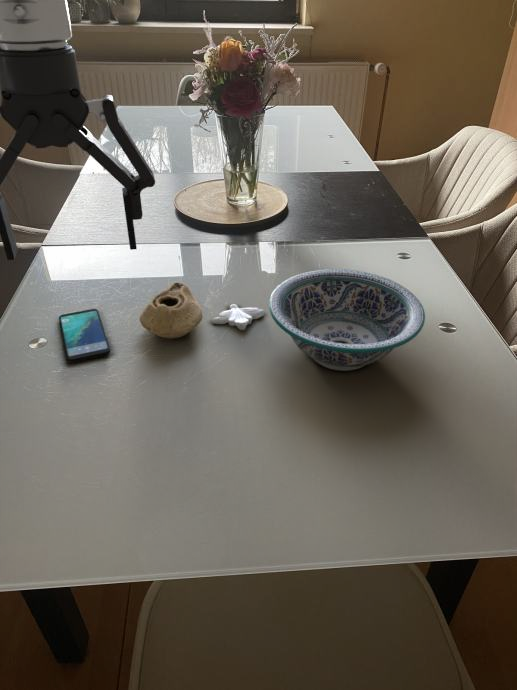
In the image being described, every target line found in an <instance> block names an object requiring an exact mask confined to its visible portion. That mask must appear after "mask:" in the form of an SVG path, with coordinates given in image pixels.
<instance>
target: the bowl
mask: <svg viewBox="0 0 517 690" xmlns="http://www.w3.org/2000/svg"><path fill="white" fill-rule="evenodd" d="M268 308H269V313H270V316H271V317H272V320H273V321H274V322H275V324H276V325H277V326H278V327H279V328H280V329H281V330H282V331H283V332H285V333H286V334H287V335H288V336H290V337H291V339H292V341H293V342H294V344H295V345H296V346H297V348H299V349H300V350H301V352H303V353H304V354H305V355H306V356H308V357H310V358H311V359H313V361H315V362H316V363H317V364H319V365H321V366H322V367H325V368H327V369H330V370H335V371H342V372H343V371H353V370H359V369H360V368H363V367H364V366H367V365H371V364H373V363H376V362H378V361H380V360H382V359H383V358H385V357H386V356H387V355H388V354H390V352H392V351H393V350H394V349H396V348H398V347H400V346H403V345H405V344H407V343H410V342H411V341H412V340H414V339H415V338H416V337H417V336H418V335H419V333H421V331H422V330H423V327H424V324H425V320H426V313H425V309H424V306H423V305H422V302H421V301H420V300H419V299H418V297H416V295H414V293H413V292H411V291H410V290H408V288H406V287H405V286H402V284H399V283H398V282H396V281H393V280H392V279H389V278H388V277H387V278H386V277H384V276H381V275H377V274H374V273H370V272H366V271H362V270H361V271H360V270H354V269H343V268H329V269H328V268H327V269H326V268H325V269H318V270H311V271H306V272H302V273H300V274H296V275H294V276H291V277H289V278H287V279H286V280H284V281H283V282H281V283H280V284H279V285H277V286H276V287H275V289H274V290H273V291H272V292H271V295H270V297H269V301H268Z"/></svg>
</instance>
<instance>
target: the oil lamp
mask: <svg viewBox="0 0 517 690" xmlns="http://www.w3.org/2000/svg"><path fill="white" fill-rule="evenodd" d="M147 303H148V304H147V305H146V306H145V307H144V308H143V309H142V311H141V312H140V315H139V323H140V325H141V326H142V328H144V329H145V330H146V331H149V332H150V333H151V334H153V335H155V336H157V337H161V338H164V339H178V338H182V337H184V336H186V335H188V334H189V332H191V331H192V330H194V329H196V328H197V327H198V326H199V325H200V323H201V322H202V320H203V310H202V308H201V306H200V304H199V302H198V301H197V299H196V298H195V296H194V295H193V293H192V291H191V289H190V288H189V287H188V286H187V285H186V284H185V283H183V282H177V281H175V282H173V283H171V284H170V285H169V287H168V288H165V289H164V290H163V291H161V292H160V293H158V294H157V295H155V296H154V297H152V298H151V299H150V300H149V302H147Z"/></svg>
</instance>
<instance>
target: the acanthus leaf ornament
mask: <svg viewBox="0 0 517 690" xmlns="http://www.w3.org/2000/svg"><path fill="white" fill-rule="evenodd" d="M264 314H265V309H262V308H260V309H259V308H258V307H239V306H238V305H237V304H236V303H232V304H230V306H229V310H224V311H221V312H220V313H218V315H217V317H216V316H215V317H214V318H213V319H212V323H213V324H217V325H225V324H228V325H229V326H232V327H234V326H235V327H236V328H237V329H238V330H241V331H245V330H246V329H247V326H248V325H251V324H252V321H253V320H258V319H260V318H261V317H263V316H264Z"/></svg>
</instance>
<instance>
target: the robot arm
mask: <svg viewBox="0 0 517 690" xmlns="http://www.w3.org/2000/svg"><path fill="white" fill-rule="evenodd" d="M72 37H73V31H72V24H71V19H70V13H69V7H68V1H67V0H0V95H1V101H0V117H1V119H3V120H4V122H5V123H7V124H8V125H9V126H10V127H11V128H12V129H13V130H14V131H15V132H14V134H13V136H12V138H11V140H10V141H9V143H8V145H7V146H6V148H5V150H4V152H3V153H2V155H1V157H0V186H1V185H2V183H4V181H5V178H6V177H7V176H8V174H9V173H10V170H11V169H12V168H13V166H14V164H15V162H16V160H17V159H18V157H19V156H20V154H21V153H22V151H23V149H24V148H25V146H26V144H28V145H30V146H32V147H35V149H46V148H49V147H56V148H68V147H69V146H71V145H72V144H76V145H77V146H78V147H79V148H80V149H81V150H82V151H84V152H86V153H87V154H88V155H89V156H90V157H92V159H94V160H95V162H96V163H98V164H99V165H100V166H101V167H102V168H103V169H104V170H105V171H106V172H107V173H109V175H110V176H112V177H113V178H114V179H116V181H117V182H118V183H119V184H120V185H122V188H121V191H122V199H123V207H124V213H125V214H124V215H125V221H126V229H127V236H128V243H129V249H130V250H137V240H136V232H135V224H134V221H135V220H136V221H138V220H142V219H143V215H144V214H143V207H142V206H143V205H142V198H141V193H142V191H143V190H145V189H147V188H153V187H154V186H155V184H156V179H155V175H154V171H153V170H152V168H151V167H150V166H149V164H148V162H147V160H146V159H145V158H144V156H143V154H142V153H141V151H140V149H139V148H138V147H137V146H138V145H136V143H135V141H134V140H133V138H132V137H131V134H129V132H128V130H127V129H126V127H125V126H124V123H123V122H122V121H121V119H120V118H119V115H118V110H117V108H116V107H117V106H116V102H115V99H114V97H113V95H111V94H105V95H103V96H102V98H96V99H89V100H87V99H86V98H85V96H84V94H83V92H82V87H81V80H80V74H79V68H78V63H77V58H76V57H77V56H76V50H75V49H74V48H73V47H72V45H70V44H68V41H70V40H71V38H72ZM89 114H94V115H95V116H96V117H97V119H98V120H99V121H100V122H103V123H106V125H107V127H108V129H109V131H110V133H111V134H112V136H113V137H114V139H115V140H116V142H117V143H118V145H119V146H120V148H121V149H122V151H123V153H124V154H125V155H126V157H127V159H128V161H129V162H130V164H131V165H132V167H133V169H134V170H135V171H136V173H137V175H134V174H133V173H132V172H131V171H130V169H128V168H127V167H126V166H125V164H123V163H121V162H120V160H119V159H117V157H115V156H114V155H113V153H112V152H111V151H109V150H108V149H107V148H106V147H105V146H104V145H103V144H102V143H101V142H100V141H99V140H98V139H97V138H96V137H95V136H94V135H93V133H92V132H91V131H89V129H87V127H86V126H85V125H84V124H85V123H86V121H87V119H88V117H89V116H90V115H89ZM0 239H1V242H2V245H3V249H4V252H5V256H6V260H7V261H15V260H16V257H17V253H18V246H17V241H16V239H15V234H14V231H13V227H12V223H11V219H10V216H9V213H8V208H7V204H6V201H5V197H4V195H0Z"/></svg>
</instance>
